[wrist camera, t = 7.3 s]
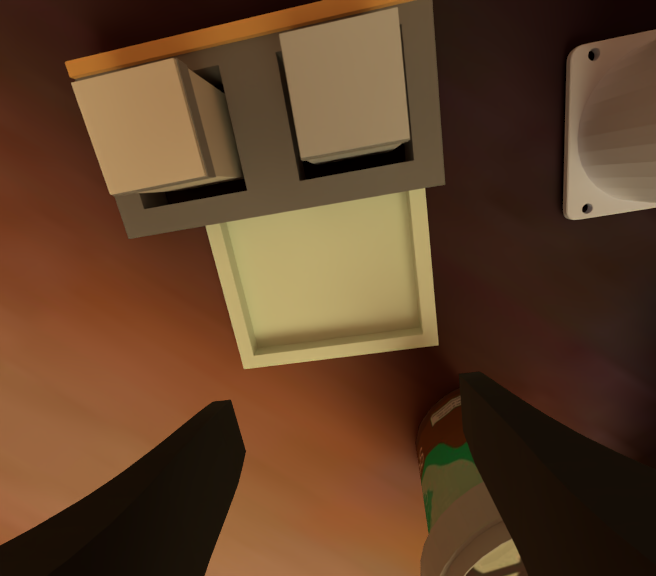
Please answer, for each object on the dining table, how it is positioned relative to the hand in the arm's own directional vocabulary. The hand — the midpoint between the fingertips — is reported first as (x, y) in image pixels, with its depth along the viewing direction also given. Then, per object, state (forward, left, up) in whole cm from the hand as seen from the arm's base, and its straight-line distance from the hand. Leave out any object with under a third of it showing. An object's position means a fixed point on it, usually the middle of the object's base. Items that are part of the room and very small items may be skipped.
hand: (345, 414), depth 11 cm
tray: (+1, -2, -10) cm, 11 cm away
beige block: (-1, -10, -10) cm, 15 cm away
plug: (+6, -10, -10) cm, 16 cm away
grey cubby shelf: (+3, -10, -10) cm, 15 cm away
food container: (-5, +12, -11) cm, 17 cm away
